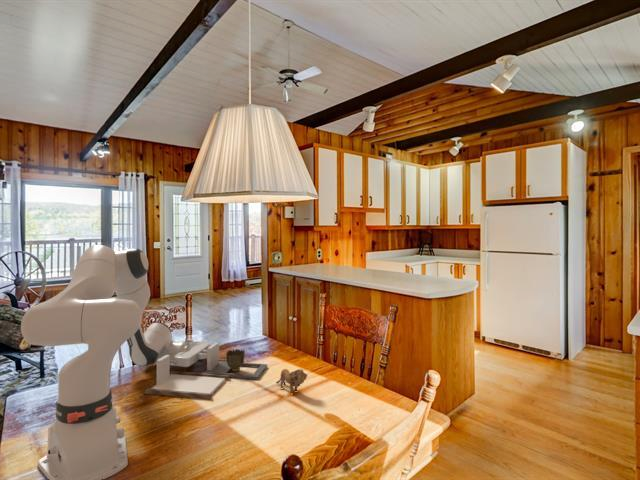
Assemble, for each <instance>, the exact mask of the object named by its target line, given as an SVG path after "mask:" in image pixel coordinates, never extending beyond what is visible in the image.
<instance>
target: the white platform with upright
mask: <svg viewBox="0 0 640 480" xmlns="http://www.w3.org/2000/svg"><path fill="white" fill-rule="evenodd" d="M170 365H171V363H170V355H165V356H163V357H162V358H160V359H158V360H157V362H156V383H155V385H154V386H152V387H150V388H151V389H163V390H174V391H186V392H198V393H210V394H212V395H213V394H214V393H215V392H216V390H217V389H219V388H220V387H221V386H222V384H224V383H225V381H226V380H225V378H215V377H202V376H189V375H176V374H171V371H170V368H171V367H170Z"/></svg>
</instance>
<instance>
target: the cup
mask: <svg viewBox="0 0 640 480" xmlns="http://www.w3.org/2000/svg"><path fill="white" fill-rule="evenodd" d="M245 353H246V352H245V350H244V349H241V350H240V349H239V348H238V349H232V350H231V349H229V350H227V351H226V352H225V354H226V360H227V363H228V366H229V367H230V368H231V371H230V372H232V373H238V372H239V371H240V370H241V367H243V366H242V365H243V361H244V362H245Z"/></svg>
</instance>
